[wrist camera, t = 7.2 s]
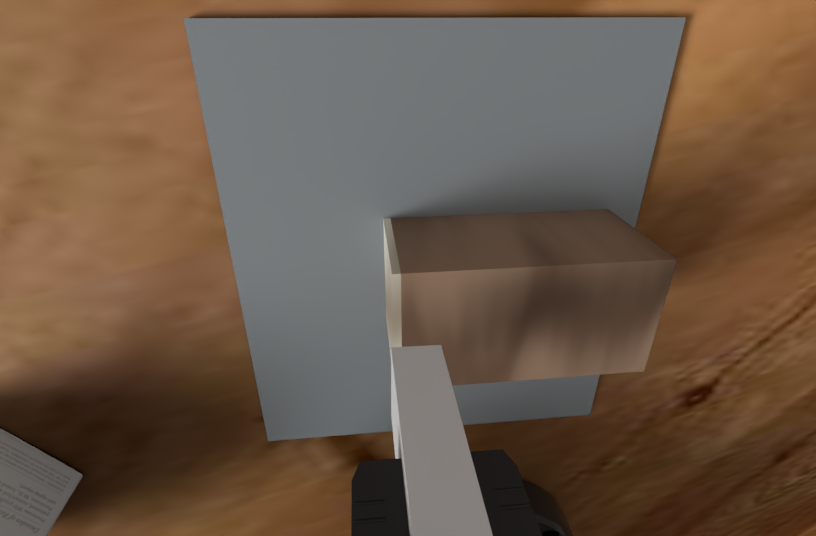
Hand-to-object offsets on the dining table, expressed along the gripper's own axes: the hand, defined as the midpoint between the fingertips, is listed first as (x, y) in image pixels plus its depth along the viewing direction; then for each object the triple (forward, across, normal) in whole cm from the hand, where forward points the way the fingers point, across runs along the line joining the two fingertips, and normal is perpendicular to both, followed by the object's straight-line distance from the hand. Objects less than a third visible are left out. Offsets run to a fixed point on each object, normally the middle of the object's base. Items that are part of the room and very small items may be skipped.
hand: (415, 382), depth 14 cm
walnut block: (+5, 0, 0) cm, 5 cm away
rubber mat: (+8, -2, 0) cm, 8 cm away
